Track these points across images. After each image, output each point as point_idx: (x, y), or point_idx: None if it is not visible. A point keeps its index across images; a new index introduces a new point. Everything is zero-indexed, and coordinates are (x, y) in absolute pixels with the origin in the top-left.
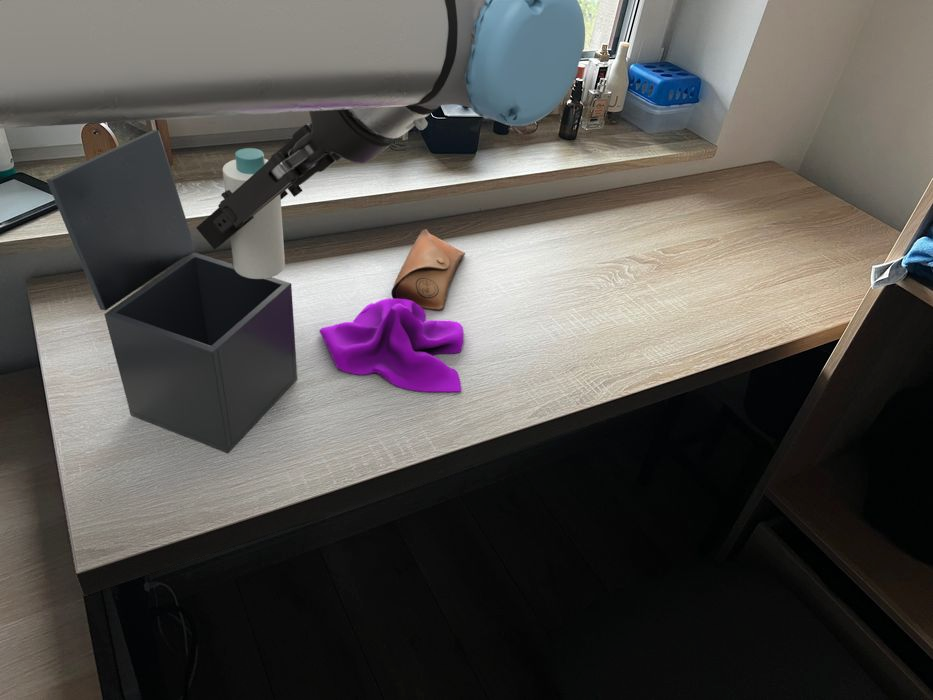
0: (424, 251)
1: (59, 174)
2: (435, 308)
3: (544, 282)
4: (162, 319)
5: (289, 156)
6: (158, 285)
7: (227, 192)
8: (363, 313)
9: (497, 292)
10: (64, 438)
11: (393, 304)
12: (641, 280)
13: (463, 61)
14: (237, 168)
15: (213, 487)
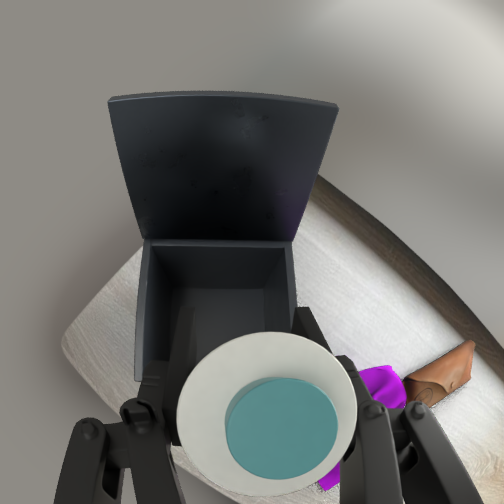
0: (455, 368)
1: (128, 96)
2: None
3: (464, 444)
4: (213, 265)
5: (366, 499)
6: (218, 248)
7: (138, 415)
8: (377, 370)
9: (444, 430)
10: (131, 259)
11: (395, 389)
12: (480, 480)
13: None
14: (231, 400)
15: (132, 385)
